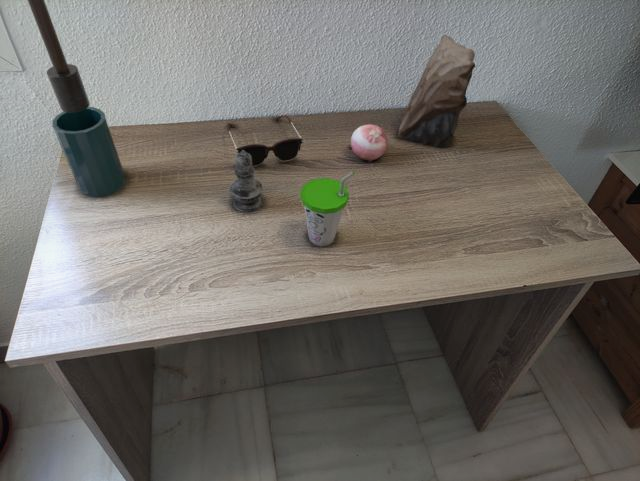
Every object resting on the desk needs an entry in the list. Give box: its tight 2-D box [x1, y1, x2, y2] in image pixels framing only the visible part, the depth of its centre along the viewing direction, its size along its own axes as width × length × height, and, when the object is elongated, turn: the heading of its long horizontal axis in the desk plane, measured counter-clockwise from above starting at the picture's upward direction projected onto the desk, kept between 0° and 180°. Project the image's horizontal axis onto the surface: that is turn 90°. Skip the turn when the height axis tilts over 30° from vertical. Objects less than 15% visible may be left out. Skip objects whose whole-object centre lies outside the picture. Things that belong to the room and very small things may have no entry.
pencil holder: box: [51, 106, 126, 198], centre depth 85 cm, size 8×8×14 cm
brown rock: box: [397, 34, 476, 148], centre depth 100 cm, size 13×13×20 cm
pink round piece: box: [347, 124, 388, 163], centre depth 98 cm, size 8×8×7 cm
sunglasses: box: [226, 114, 304, 167], centre depth 101 cm, size 14×16×5 cm
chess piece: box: [229, 150, 264, 213], centre depth 84 cm, size 6×6×12 cm
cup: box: [299, 170, 355, 248], centre depth 77 cm, size 8×8×15 cm
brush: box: [27, 0, 91, 113], centre depth 68 cm, size 4×4×22 cm
